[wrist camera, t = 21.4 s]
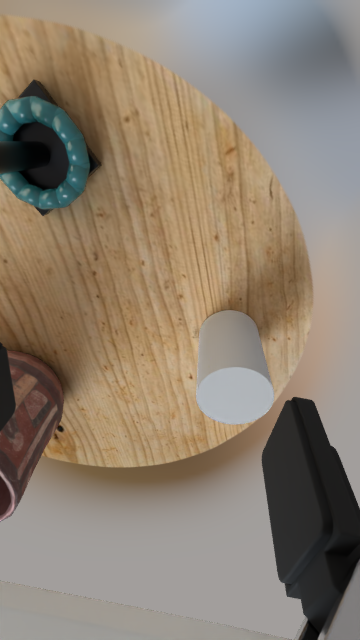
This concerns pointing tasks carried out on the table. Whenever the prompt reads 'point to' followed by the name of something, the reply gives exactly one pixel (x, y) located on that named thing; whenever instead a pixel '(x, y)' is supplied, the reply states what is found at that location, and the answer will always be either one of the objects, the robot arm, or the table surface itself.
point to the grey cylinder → (232, 370)
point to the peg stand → (39, 151)
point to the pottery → (27, 425)
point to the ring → (36, 109)
